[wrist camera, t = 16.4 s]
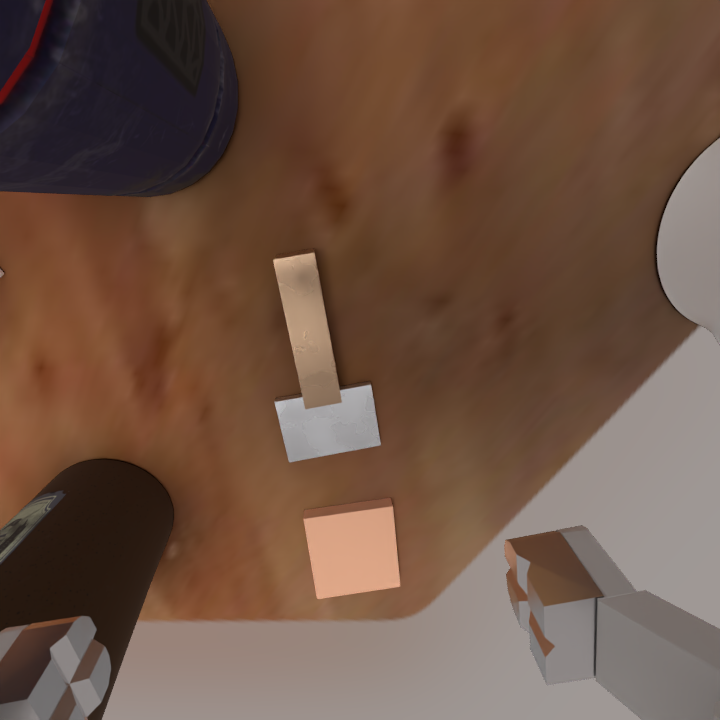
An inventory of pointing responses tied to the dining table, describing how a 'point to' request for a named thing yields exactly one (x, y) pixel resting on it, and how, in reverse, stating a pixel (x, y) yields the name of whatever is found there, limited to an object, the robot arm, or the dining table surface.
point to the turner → (318, 373)
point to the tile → (352, 547)
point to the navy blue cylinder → (112, 95)
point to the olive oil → (86, 553)
